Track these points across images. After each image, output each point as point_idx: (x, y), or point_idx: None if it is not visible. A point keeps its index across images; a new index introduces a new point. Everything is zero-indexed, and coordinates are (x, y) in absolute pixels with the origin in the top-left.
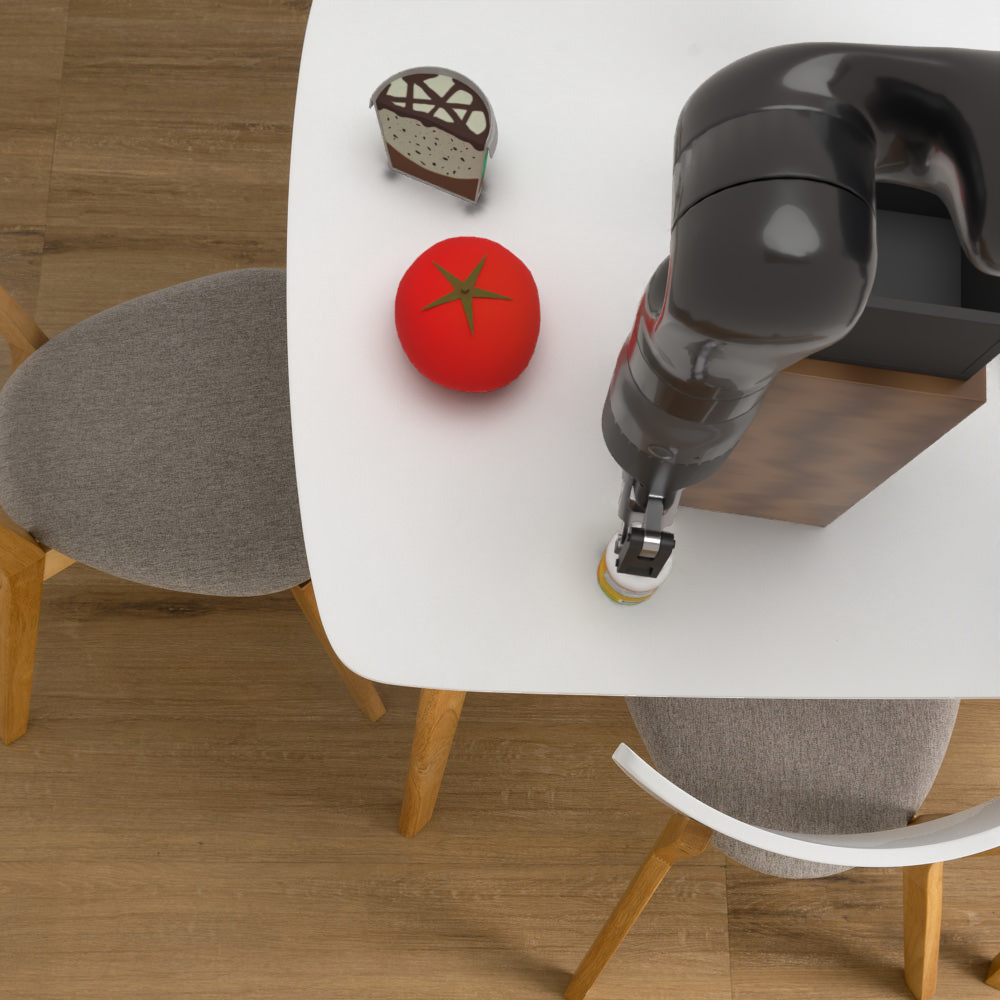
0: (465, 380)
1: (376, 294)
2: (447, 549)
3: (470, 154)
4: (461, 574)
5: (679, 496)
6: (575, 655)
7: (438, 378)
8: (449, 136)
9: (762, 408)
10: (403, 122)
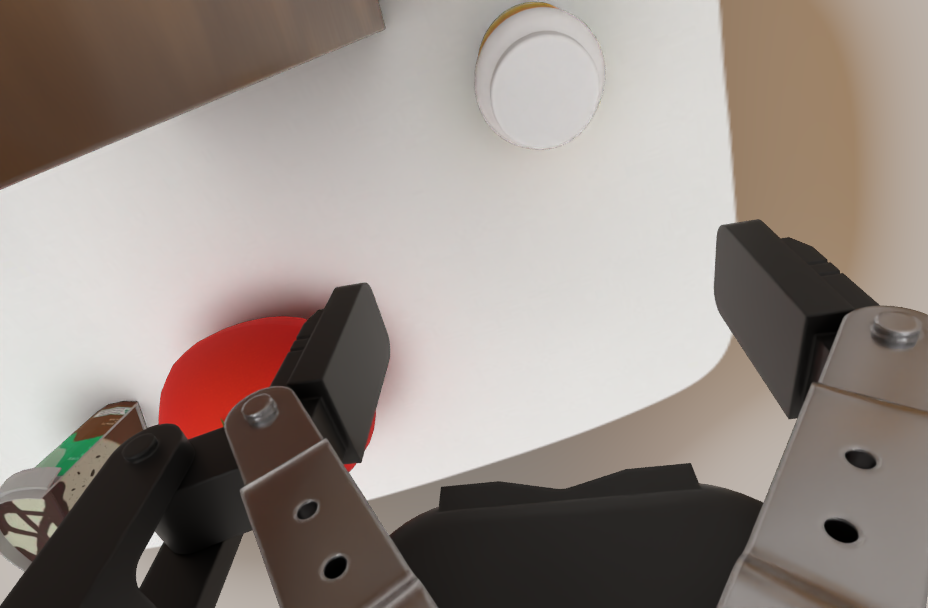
0: None
1: None
2: (562, 309)
3: (77, 478)
4: (591, 285)
5: (921, 581)
6: (677, 101)
7: (372, 423)
8: None
9: (12, 5)
10: None
